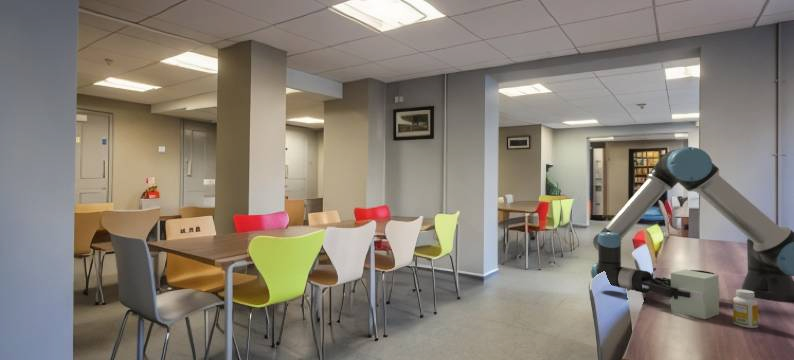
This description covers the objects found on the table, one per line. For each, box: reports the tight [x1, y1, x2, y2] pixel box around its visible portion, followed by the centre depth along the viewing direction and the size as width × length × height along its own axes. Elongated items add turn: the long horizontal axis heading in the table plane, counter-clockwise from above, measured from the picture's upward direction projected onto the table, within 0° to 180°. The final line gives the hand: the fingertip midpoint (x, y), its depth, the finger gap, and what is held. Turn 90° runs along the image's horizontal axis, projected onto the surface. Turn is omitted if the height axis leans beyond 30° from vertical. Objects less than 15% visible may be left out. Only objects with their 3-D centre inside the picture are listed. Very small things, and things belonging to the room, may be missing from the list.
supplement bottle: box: [732, 288, 759, 329], centre depth 115 cm, size 5×5×10 cm
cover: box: [670, 269, 720, 320], centre depth 126 cm, size 9×9×12 cm
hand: (711, 295), depth 122 cm, fingers closed on cover, 9 cm apart
